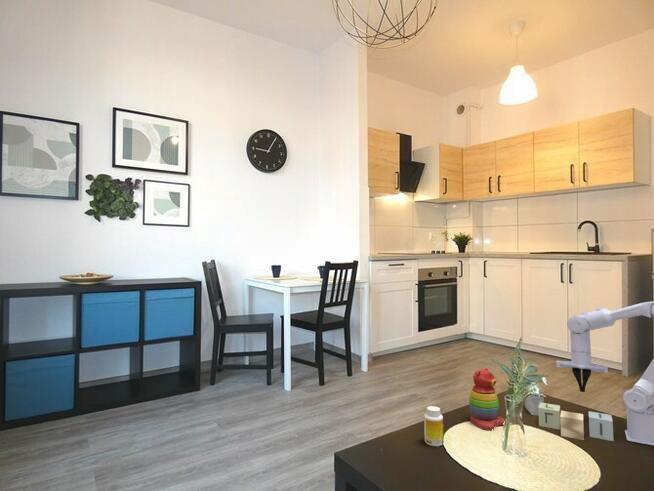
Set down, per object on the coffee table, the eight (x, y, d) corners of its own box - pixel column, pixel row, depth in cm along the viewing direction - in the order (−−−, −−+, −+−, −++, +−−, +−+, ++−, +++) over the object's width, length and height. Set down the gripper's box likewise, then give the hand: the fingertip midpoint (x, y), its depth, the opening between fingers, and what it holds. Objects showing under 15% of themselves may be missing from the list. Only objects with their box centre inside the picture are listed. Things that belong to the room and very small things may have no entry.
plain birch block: (583, 433, 124) (583, 414, 124) (584, 440, 119) (583, 420, 119) (561, 429, 127) (561, 410, 127) (561, 436, 122) (560, 416, 122)
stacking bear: (489, 432, 125) (487, 375, 126) (462, 421, 134) (461, 368, 135) (508, 424, 131) (506, 370, 132) (482, 414, 140) (480, 364, 141)
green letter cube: (560, 423, 132) (560, 405, 132) (559, 430, 126) (559, 411, 127) (540, 420, 135) (539, 402, 135) (538, 426, 130) (538, 407, 130)
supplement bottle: (446, 447, 115) (445, 411, 116) (427, 447, 115) (427, 412, 115) (440, 438, 121) (439, 404, 121) (422, 439, 120) (421, 405, 121)
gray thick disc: (544, 416, 138) (543, 391, 138) (531, 415, 139) (530, 390, 139) (537, 408, 146) (536, 384, 146) (524, 407, 146) (523, 384, 147)
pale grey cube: (612, 434, 123) (611, 414, 124) (613, 441, 118) (612, 421, 118) (589, 430, 126) (588, 410, 127) (589, 437, 121) (588, 417, 122)
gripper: (555, 350, 134) (557, 390, 133) (607, 355, 126) (609, 398, 126) (556, 346, 140) (558, 385, 139) (606, 351, 132) (608, 392, 131)
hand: (582, 391), depth 133 cm, fingers closed
